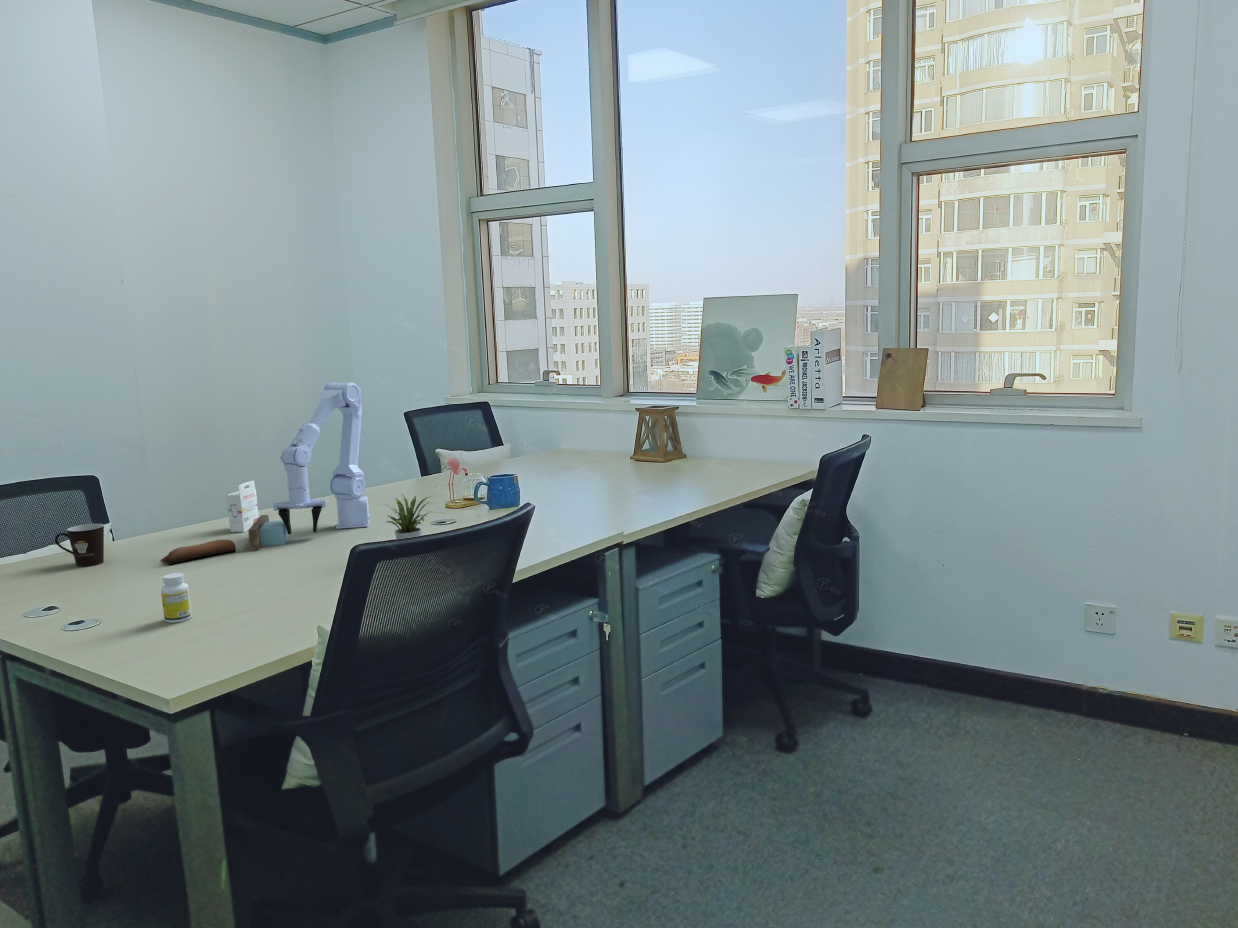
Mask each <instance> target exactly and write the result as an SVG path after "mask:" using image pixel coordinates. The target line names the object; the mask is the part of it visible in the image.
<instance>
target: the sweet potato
mask: <svg viewBox="0 0 1238 928" xmlns="http://www.w3.org/2000/svg"><path fill="white" fill-rule="evenodd" d="M228 552H234V553H237V548H236V544H235V542H234V541H233V540H231V539H215V540H210V541H207V542H204V543H199V544H195V545H194V544H193V545H189V546H179V547H177V548H175V549H173V550H171V551H169V553H168V554H167V555H166V556H164V557H163V558H161V559H160V562H162V563H164V564H166V565H167V566H170V565H174V564H177V563H181V562H185V561H189V560H192V559H195V558H200V557H207V556H212V555H218V554H222V553H228Z"/></svg>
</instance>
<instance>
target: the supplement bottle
mask: <svg viewBox="0 0 1238 928" xmlns="http://www.w3.org/2000/svg"><path fill="white" fill-rule="evenodd" d="M184 577H185V575H184V573H182V572H175V573H168V574H166V575H163V576H162V583H163V586H162V587H161V589H160V594H161V601H162V609H163V618H164V622H166V623H169V624H174V623H175V624H176V623H182V622H186V621H188V620H190V619H191V618H192V617H193V612H192V603H191V597H190V596H191V595H190V587H189V585H188V584H187V583H186V582H184V581H185V578H184Z"/></svg>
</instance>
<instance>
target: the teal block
mask: <svg viewBox="0 0 1238 928" xmlns="http://www.w3.org/2000/svg"><path fill="white" fill-rule="evenodd" d="M289 537H290V536H289V535H288V532H287V529H286V526H285V524H284V522H283V520H273V521H270V520H269V522H265V523H264V524H263V526H262V527H261V528H260V540H261V547H270V546H271V545H274V546H283V544H284V545H285V543H286V541H287V540H288V539H289ZM271 547H272V546H271Z"/></svg>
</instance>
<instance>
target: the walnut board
mask: <svg viewBox="0 0 1238 928" xmlns="http://www.w3.org/2000/svg"><path fill="white" fill-rule="evenodd" d="M265 522H270V517H269V514H261V515H260V516H259V518H258V519H257V521H256V522H255V523H254V524H253V525H252V526H251V528H250V529H249V530H248V531H247V532H248V541H249V551H250V552H255V551H259V550H260V549H261V547H262V546H261V540H260V528H261V527H262V526H263V524H264V523H265Z"/></svg>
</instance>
